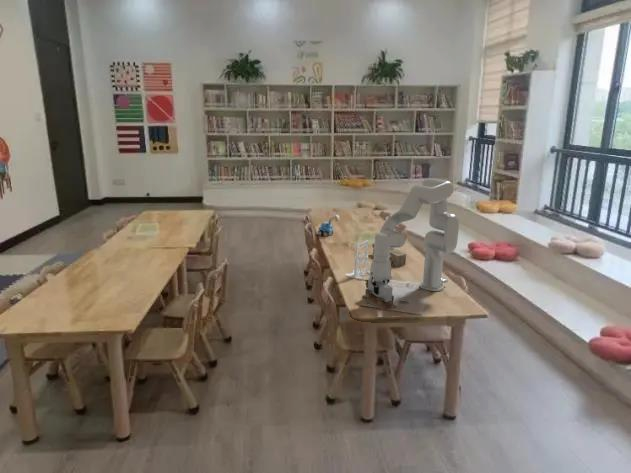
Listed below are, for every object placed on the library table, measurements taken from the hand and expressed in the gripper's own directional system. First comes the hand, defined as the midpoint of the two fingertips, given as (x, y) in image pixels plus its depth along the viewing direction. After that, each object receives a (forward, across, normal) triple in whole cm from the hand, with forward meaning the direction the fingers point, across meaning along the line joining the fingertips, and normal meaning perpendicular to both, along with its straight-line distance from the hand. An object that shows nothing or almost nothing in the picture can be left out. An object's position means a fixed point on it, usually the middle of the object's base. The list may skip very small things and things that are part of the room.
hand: (379, 292), depth 229 cm
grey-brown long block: (+6, -45, -57) cm, 73 cm away
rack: (+5, 0, 0) cm, 5 cm away
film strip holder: (+5, -12, -39) cm, 41 cm away
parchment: (+5, -10, -17) cm, 20 cm away
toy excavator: (+5, -37, -127) cm, 133 cm away
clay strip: (+2, 0, 0) cm, 2 cm away
